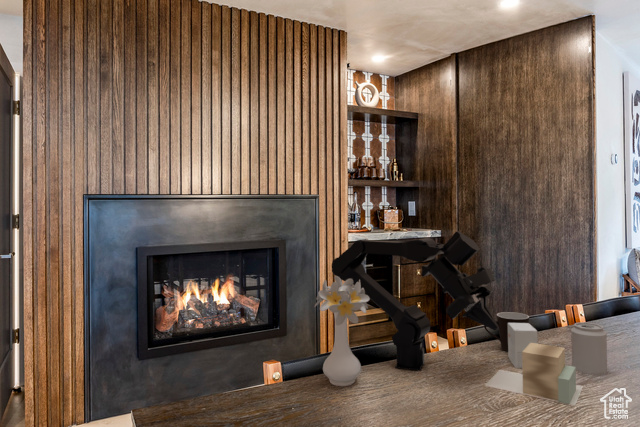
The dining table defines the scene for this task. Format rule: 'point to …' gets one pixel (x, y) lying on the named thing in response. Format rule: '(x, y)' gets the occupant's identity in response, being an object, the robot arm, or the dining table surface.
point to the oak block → (542, 369)
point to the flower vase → (342, 328)
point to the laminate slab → (520, 384)
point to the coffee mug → (503, 325)
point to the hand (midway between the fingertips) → (496, 328)
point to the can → (589, 348)
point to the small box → (519, 341)
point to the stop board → (567, 384)
